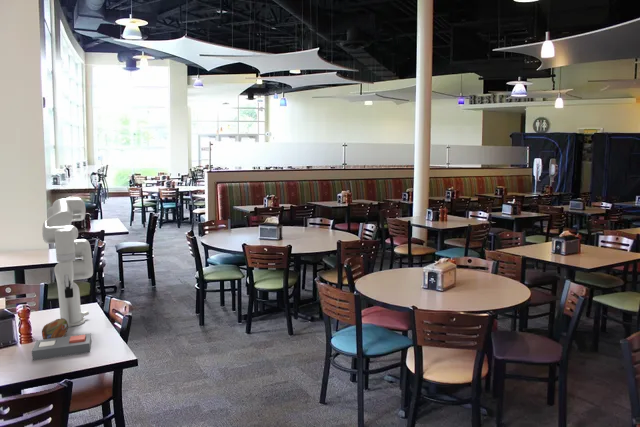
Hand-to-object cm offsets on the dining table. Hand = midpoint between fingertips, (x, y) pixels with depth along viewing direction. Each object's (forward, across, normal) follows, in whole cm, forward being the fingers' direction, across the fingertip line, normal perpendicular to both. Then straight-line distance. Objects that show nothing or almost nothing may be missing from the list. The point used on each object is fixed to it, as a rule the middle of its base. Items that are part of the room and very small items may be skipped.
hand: (69, 297), depth 242 cm
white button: (+21, +9, -9) cm, 25 cm away
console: (+21, +9, -3) cm, 23 cm away
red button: (+20, +9, +3) cm, 22 cm away
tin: (+22, -10, -8) cm, 26 cm away
